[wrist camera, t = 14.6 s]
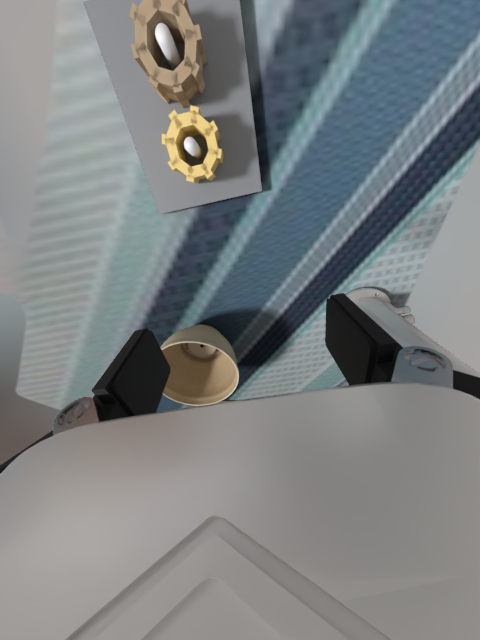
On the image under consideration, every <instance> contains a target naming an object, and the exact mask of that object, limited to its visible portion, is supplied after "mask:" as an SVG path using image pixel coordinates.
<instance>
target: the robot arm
mask: <svg viewBox="0 0 480 640" xmlns="http://www.w3.org/2000/svg"><path fill="white" fill-rule="evenodd" d="M410 310H411V309H410V307H408V306H404V307H400V308H396V307H394V306H393V305H391V301H390V299H389V297H388V296H387V295H386V294H385V293H383V292H382V291H380V290H378V289H375V288H360V289H356V290H353V291H351V292H349V293H347V294H344V293H342V294H336V295H331V296H330V299H327V304H326V337H325V342H326V346H327V348H328V350H329V352H330V353H331V355H332V357H333V358H334V360H335V362H336V363H337V365H338V367H339V368H340V370H341V372H342V373H343V375H344V377H345V378H346V380H347V382H348V383H349V385H348V386H341V387H333V388H325V389H317V390H310V391H303V392H296V393H288V394H281V395H274V396H267V397H260V398H253V399H246V400H239V401H232V402H225V403H218V404H211V405H204V406H197V407H190V408H184V409H177V410H170V411H164V412H157V413H156V411H157V408H158V405H159V402H160V400H161V397H162V394H163V391H164V388H165V386H166V383H167V380H168V377H169V375H170V371H171V370H170V365H169V364H168V362H167V360H166V358H165V356H164V354H163V352H162V350H161V348H160V346H159V344H158V342H157V340H156V338H155V336H154V334H153V333H152V331H149V330H148V329H142V330H137V331H135V332H134V333H133V334H132V336H131V337H130V339H129V340H128V341H127V343H126V344H125V345H124V347H123V348H122V349H121V351H120V352H119V354H118V355H117V356H116V358H115V359H114V360H113V362H112V363H111V365H110V366H109V367H108V369H107V370H106V371H105V373H104V374H103V375H102V377H101V378H100V380H99V381H98V382H97V384H96V385H95V386H94V388H93V389H92V392H93V393H94V394H95V396H94V397H93V398H92V397H82V398H79V399H77V400H75V401H73V402H71V403H70V404H68V405H67V406H66V407H65V408H63V409H62V410H61V411H60V412H59V414H58V415H57V416H56V418H55V419H54V422H53V431H51V432H50V433H48V434H47V435H45V436H44V437H42V438H41V439H39V440H38V441H36V442H35V443H33V444H32V445H30V446H29V447H27V448H26V449H24V450H23V451H21V452H20V453H18V454H17V455H15V456H14V457H12V458H11V459H9V460H8V461H6V462H5V463H3V464H2V465H0V640H480V373H479V372H477V371H476V370H474V369H473V368H471V367H470V366H468V365H467V364H465V363H464V362H463V361H461V360H460V359H458V358H457V357H455V356H454V355H453V354H451V353H450V352H449V351H447V350H446V349H445V348H443V347H442V346H440V345H439V344H438V343H436V342H435V341H433V340H432V339H431V338H429V337H428V336H427V335H425V334H424V333H422V332H421V331H420V330H418V329H417V328H416V327H415V326H413V325H412V324H413V323H414V322H415V318H414V316H413V315H405V316H400V315H398V314H405V313H409V312H410Z"/></svg>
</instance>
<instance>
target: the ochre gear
mask: <svg viewBox="0 0 480 640" xmlns="http://www.w3.org/2000/svg"><path fill="white" fill-rule="evenodd" d="M168 116H169V117H170V119H171V123H170V126H169V129H168V132H167V134H166V135H165V134H162V144H163V145H164V146H166V147H167V149H168V153H169V156H170V159H171V160H170V161H169V162H168V164H169V166H170V167H171V169H172V170H173V171H176V172H178V173H184V174H185V175H186V181H190V182H194V183H198V184H199V180H200V179H204V178H207V179H209V180H210V181H211V180H212V179H214V178H215V177H216V176H215V174H214V172H215V170H216V168H217V166H218V164H219V163H223V156H224V155H223V152H222V149H219V147H218V142H217V141H218V140H219V139H220V135H219V131H218V128H217V126H216V125H215V123H214V121H212V122H211V123H209V122H207V121H206V120H205V119H204V118H203V116H202V114H201V112H200V109H199V107H195V106H192V105H190V111H189V112H186V113H182V114H177V112H176V111H175V109H174V110H173V111H172V112H171V113H170V114H169V115H168ZM195 135H201V136H202V137H203V138H204V139H205V140H206V141H207V146H208V150H209V151H208V153H207V155H206V158H205V160H204V162H203V164H200V165H196V166H190V165H189V164H188V163H187V161H186V157H185V153H184V150H183V149H184V141H185V139H186V138H187V137H191V136H195Z"/></svg>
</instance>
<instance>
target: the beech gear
mask: <svg viewBox="0 0 480 640" xmlns="http://www.w3.org/2000/svg"><path fill="white" fill-rule="evenodd" d="M129 16H130V18H131V19H132V21H133V23H134V24H135V44H132V45H131V48H132V51H133V55H134V58H135V60H136V61H137V62H138V64H139V65H140V66H141V68H142V69H143V70H144V72H145V73H146V75H147V76H148V77H149V82H150V84H151V85H152V86H153V88H154V89H155V90H156V91H157V93H158V94H159V95H160V97H161V98H162V99H163V100H164V101H166V102H167V103H168V104H169V101H170V99H171V100H174V101H178V102H180V103H181V105H182V107H183V108H186V107H190V103H189V100H190V99H191V98H192V97H193V96H194V95H195V94H196V93H197V92H199V93H200V94H201V95H202V93H203V91H204V88H205V83H204V79H203V76H202V71H203V65H205V64H207V61H206V55H205V50H204V46H203V41H202V36H201V31H200V27H199V24H197V25H193V23H192V19H191V15H190V11H189V7H188V3H187V0H143V1H142V2H141V4H140V5H139V6H138V7H137V6H136V5H135V4H134V3H133V2H132V6H131V10H130V14H129ZM159 23H164V24H165V25H166V26H167V27H168V29H169V31H170V33H171V36H172V38H173V41H174V42H177V43H181V44H184V45H185V55H184V60H183V61H182V62H181V63H180V64H179V65H178V67H177V68H176V69H175V70H174V71H171V70H168V69H164V68H161V51H162V49H161V47H160V45H159V43H158V41H157V39H156V36H155V29H156V26H157V25H158V24H159Z"/></svg>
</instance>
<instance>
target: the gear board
mask: <svg viewBox="0 0 480 640" xmlns="http://www.w3.org/2000/svg"><path fill="white" fill-rule="evenodd" d="M142 1H143V0H90V1H87V2H84V6H85V9H86V11H87V14H88V17H89V20H90V23H91V25H92V28H93V31H94V34H95V36H96V39H97V42H98V45H99V48H100V50H101V53H102V56H103V59H104V62H105V64H106V67H107V70H108V73H109V75H110V78H111V81H112V84H113V87H114V89H115V92H116V95H117V98H118V101H119V103H120V106H121V109H122V112H123V115H124V117H125V120H126V123H127V126H128V128H129V131H130V134H131V137H132V140H133V142H134V145H135V148H136V151H137V154H138V156H139V159H140V162H141V165H142V167H143V170H144V173H145V176H146V179H147V181H148V184H149V187H150V190H151V193H152V195H153V198H154V201H155V204H156V206H157V209H158V212H159V214H164V213H168V212H172V211H177V210H181V209H185V208H190V207H194V206H199V205H203V204H207V203H212V202H216V201H220V200H225V199H229V198H234V197H238V196H242V195H247V194H251V193H255V192H260V191H262V186H261V178H260V169H259V161H258V152H257V144H256V135H255V127H254V118H253V110H252V101H251V92H250V84H249V75H248V67H247V58H246V50H245V41H244V33H243V24H242V16H241V7H240V0H187V3H188V7H189V11H190V15H191V19H192V23H193V25H197V24H199V27H200V31H201V36H202V41H203V46H204V50H205V55H206V61H207V64H205V65H203V71H202V76H203V79H204V83H205V88H204V91H203V93H202V95H201V94H200V93H199V92H197V93H196V94H195V95H194V96H193V97H192V98H191V99H190V100H189V103H190V105H192V106H195V107H199V109H200V112H201V114H202V116H203V118H204V119H205V120H206V121H207V122H209V123H211V122H212V121H214V123H215V125H216V126H217V128H218V131H219V135H220V139H219V140H218V141H217V142H218V147H219V149H222V152H223V155H224V156H223V163H219V164H218V166H217V168H216V170H215V172H214V174H215V176H216V177H215V178H214V179H212V180H211V181H210V180H209V179H207V178H204V179H200V180H199V184H198V183H194V182H190V181H186V175H185V174H184V173H178V172H176V171H173V170H172V169H171V167H170V166H169V164H168V162H169V161H170V160H171V159H170V156H169V153H168V149H167V147H166V146H164V145H163V144H162V134H165V135H166V134H167V132H168V129H169V126H170V123H171V119H170V117H169V116H168V115H169V114H170V113H171V112H172V111H173V110H174V109H175V111H176V112H177V114H182V113H186V112H189V111H190V107H186V108H183V107H182V105H181V103H180V102H178V101H174V100H171V99H170V101H169V104H168V103H167V102H166V101H164V100H163V99H162V98H161V97H160V95H159V94H158V93H157V91H156V90H155V89H154V88H153V86H152V85H151V84H150V82H149V77H148V76H147V75H146V73H145V72H144V70H143V69H142V68H141V66H140V65H139V64H138V62H137V61H136V60H135V58H134V55H133V51H132V48H131V45H132V44H135V24H134V23H133V21H132V19H131V18H130V16H129V14H130V10H131V6H132V2H133V3H134V4H135V5H136V6H137V7H138V6H139V5H140V4H141V2H142ZM155 36H156V39H157V41H158V43H159V45H160V47H161V49H162V51H161V68H164V69H168V70H171V71H174V70H175V69H176V68H177V67H178V65H179V64H180V63H181V62H182V61H183V60H184V55H185V45H184V44H181V43H177V42H174V41H173V38H172V36H171V33H170V31H169V29H168V27H167V26H166V25H165V24H164V23H159V24H158V25H157V26H156V29H155ZM183 150H184V153H185V157H186V161H187V163H188V164H189V165H190V166H196V165H200V164H203V162H204V160H205V158H206V155H207V153H208V151H209V150H208V146H207V141H206V140H205V139H204V138H203V137H202V136H201V135H195V136H191V137H187V138H186V139H185V141H184V149H183Z"/></svg>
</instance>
